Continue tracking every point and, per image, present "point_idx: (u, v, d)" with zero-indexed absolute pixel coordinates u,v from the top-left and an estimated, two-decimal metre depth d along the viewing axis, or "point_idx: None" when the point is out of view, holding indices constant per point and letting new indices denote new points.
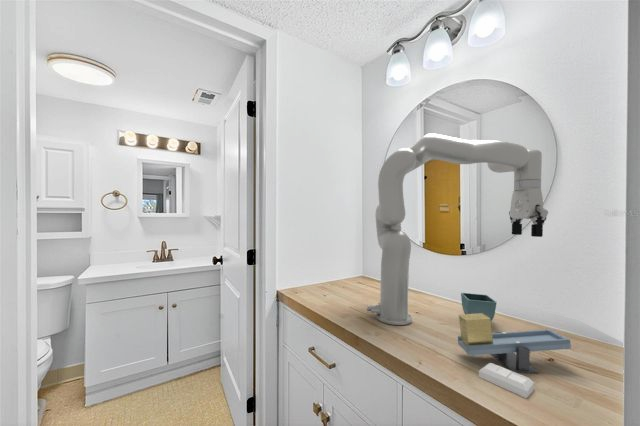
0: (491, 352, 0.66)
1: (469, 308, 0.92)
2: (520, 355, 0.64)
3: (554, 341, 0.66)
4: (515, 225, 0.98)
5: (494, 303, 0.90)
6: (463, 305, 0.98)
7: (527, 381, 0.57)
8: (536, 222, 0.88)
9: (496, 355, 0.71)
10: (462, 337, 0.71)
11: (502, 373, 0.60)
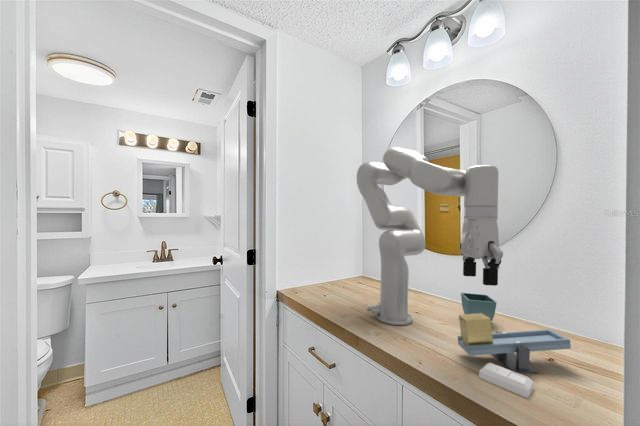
0: (491, 352, 0.66)
1: (469, 308, 0.92)
2: (520, 355, 0.64)
3: (554, 341, 0.66)
4: (467, 264, 0.74)
5: (494, 303, 0.90)
6: (463, 305, 0.98)
7: (527, 381, 0.57)
8: (488, 266, 0.64)
9: (496, 355, 0.71)
10: (462, 337, 0.71)
11: (502, 373, 0.60)
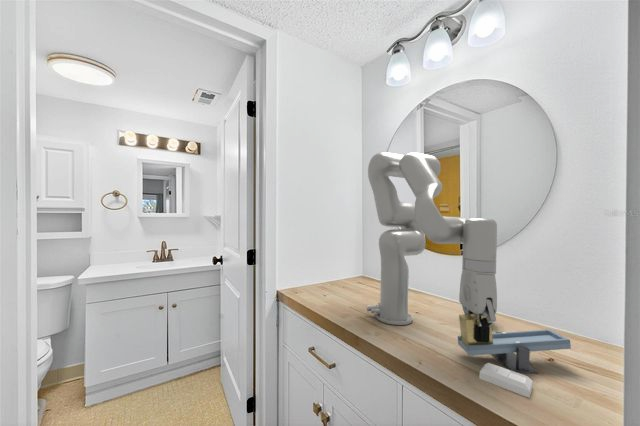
0: (491, 352, 0.66)
1: None
2: (520, 355, 0.64)
3: (554, 341, 0.66)
4: None
5: None
6: None
7: (527, 380, 0.58)
8: (480, 325, 0.66)
9: (496, 355, 0.71)
10: (462, 337, 0.71)
11: (502, 373, 0.59)
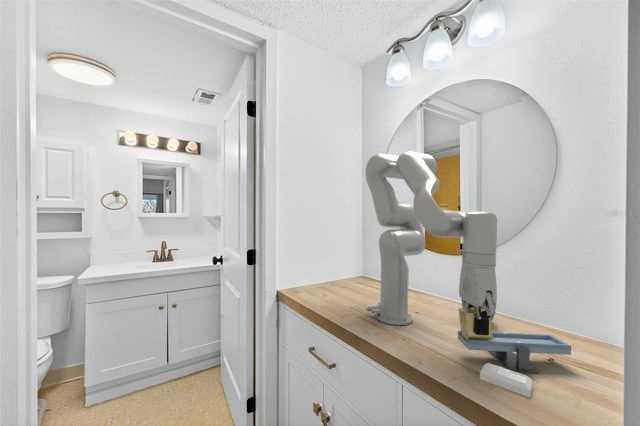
0: (491, 349, 0.66)
1: None
2: (520, 355, 0.64)
3: (555, 345, 0.66)
4: None
5: None
6: (463, 305, 0.98)
7: (527, 380, 0.58)
8: (480, 318, 0.66)
9: (496, 355, 0.71)
10: (462, 330, 0.71)
11: (503, 373, 0.59)
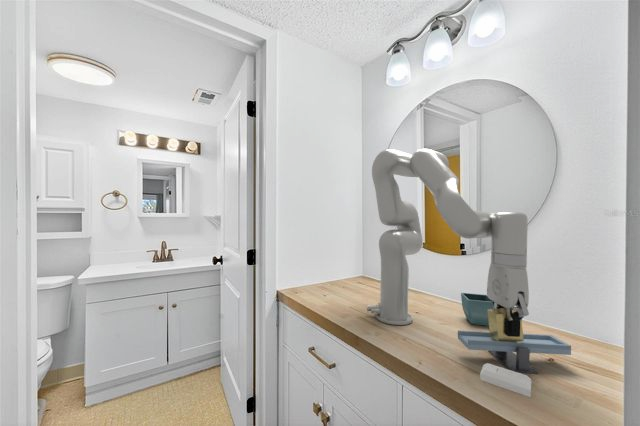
0: (491, 349, 0.66)
1: (469, 308, 0.92)
2: (520, 355, 0.64)
3: (555, 345, 0.66)
4: None
5: None
6: (463, 305, 0.98)
7: (527, 379, 0.58)
8: (511, 319, 0.66)
9: (496, 355, 0.71)
10: (491, 332, 0.70)
11: (503, 373, 0.59)
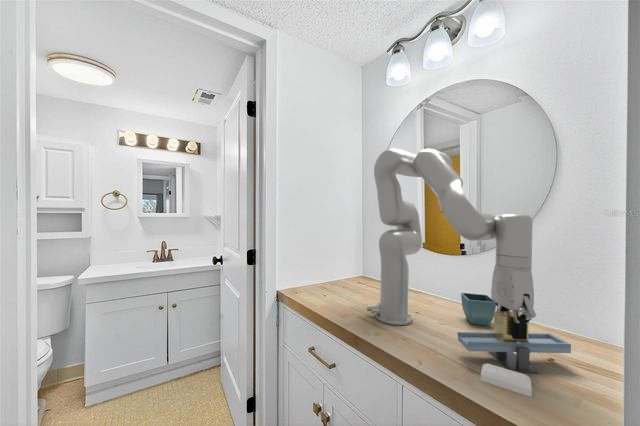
0: (491, 350, 0.66)
1: (469, 308, 0.92)
2: (520, 355, 0.64)
3: (555, 344, 0.66)
4: None
5: (494, 303, 0.90)
6: (463, 305, 0.98)
7: (527, 379, 0.58)
8: (518, 322, 0.65)
9: (496, 355, 0.71)
10: (496, 333, 0.70)
11: (503, 374, 0.59)
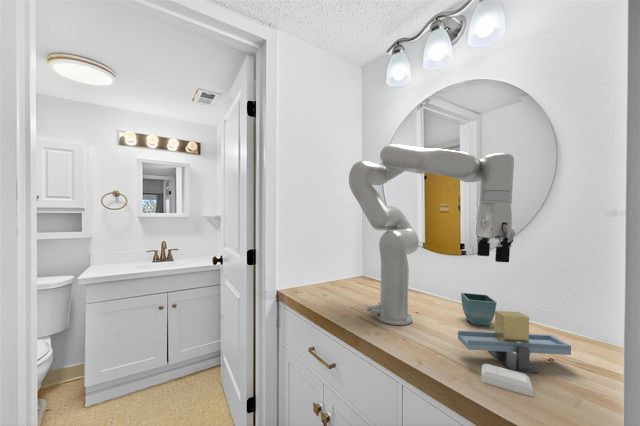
0: (491, 349, 0.66)
1: (469, 308, 0.92)
2: (520, 355, 0.64)
3: (555, 345, 0.66)
4: (481, 244, 0.81)
5: (494, 303, 0.90)
6: (463, 305, 0.98)
7: (526, 378, 0.58)
8: (501, 244, 0.71)
9: (496, 355, 0.71)
10: (496, 333, 0.70)
11: (503, 374, 0.59)
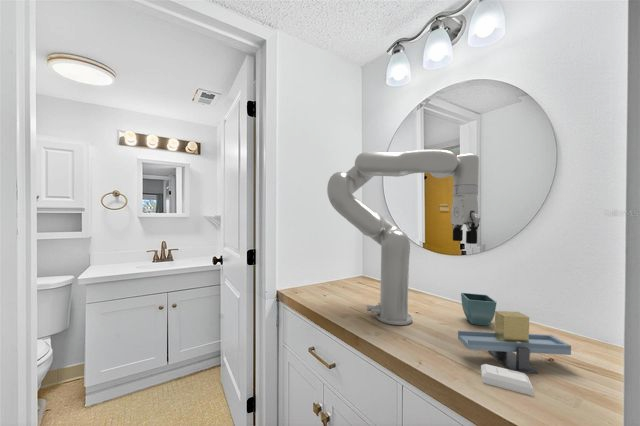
0: (491, 349, 0.66)
1: (469, 308, 0.92)
2: (520, 355, 0.64)
3: (555, 345, 0.66)
4: (456, 231, 0.96)
5: (494, 303, 0.90)
6: (463, 305, 0.98)
7: (526, 377, 0.59)
8: (470, 229, 0.85)
9: (496, 355, 0.71)
10: (496, 333, 0.70)
11: (504, 374, 0.59)
